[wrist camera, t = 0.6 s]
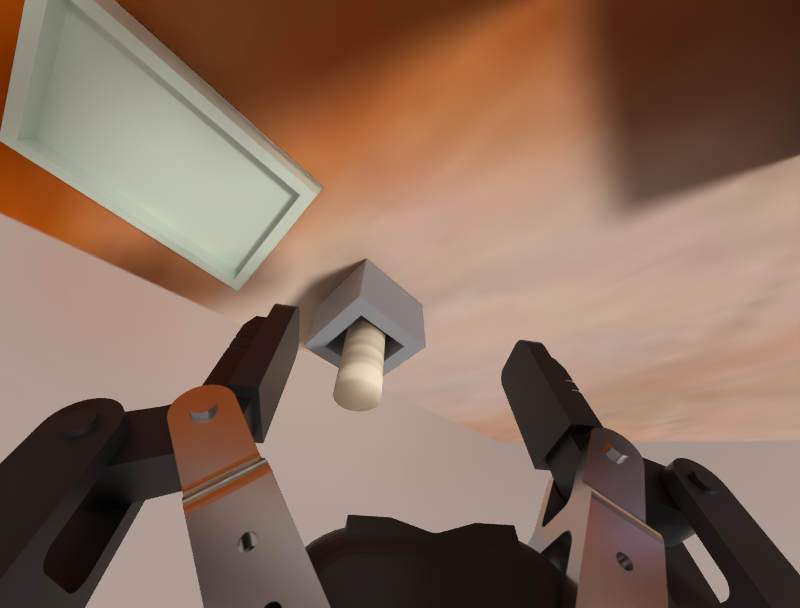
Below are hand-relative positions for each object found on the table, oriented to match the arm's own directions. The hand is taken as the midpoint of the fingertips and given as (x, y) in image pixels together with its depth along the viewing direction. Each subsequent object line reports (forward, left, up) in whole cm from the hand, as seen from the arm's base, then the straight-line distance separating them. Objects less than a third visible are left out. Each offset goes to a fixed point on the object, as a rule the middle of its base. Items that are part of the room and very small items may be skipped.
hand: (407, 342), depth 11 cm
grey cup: (+12, +7, -21) cm, 25 cm away
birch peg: (+12, +7, -21) cm, 25 cm away
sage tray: (+12, -15, -21) cm, 29 cm away
